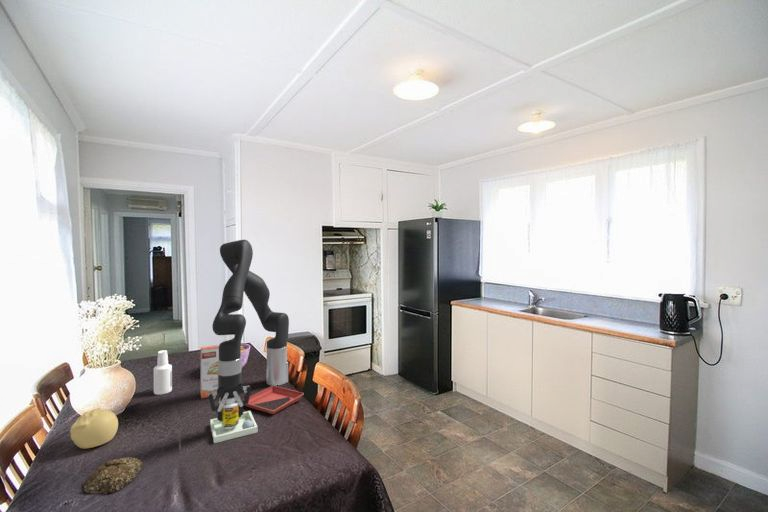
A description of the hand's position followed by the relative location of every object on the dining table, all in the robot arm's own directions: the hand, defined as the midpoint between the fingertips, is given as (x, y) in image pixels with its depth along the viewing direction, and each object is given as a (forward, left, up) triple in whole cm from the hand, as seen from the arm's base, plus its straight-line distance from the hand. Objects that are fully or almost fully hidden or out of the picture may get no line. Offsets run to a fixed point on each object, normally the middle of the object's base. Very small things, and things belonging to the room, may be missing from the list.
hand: (230, 418), depth 123 cm
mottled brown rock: (+32, +12, -4) cm, 34 cm away
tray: (-1, +1, -4) cm, 4 cm away
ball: (-5, +5, -3) cm, 8 cm away
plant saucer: (-18, -13, -5) cm, 23 cm away
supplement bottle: (0, 0, -3) cm, 3 cm away
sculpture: (+39, -13, -4) cm, 41 cm away
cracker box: (0, -35, -4) cm, 35 cm away
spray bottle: (+21, -49, -4) cm, 53 cm away
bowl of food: (-8, -63, -4) cm, 64 cm away
